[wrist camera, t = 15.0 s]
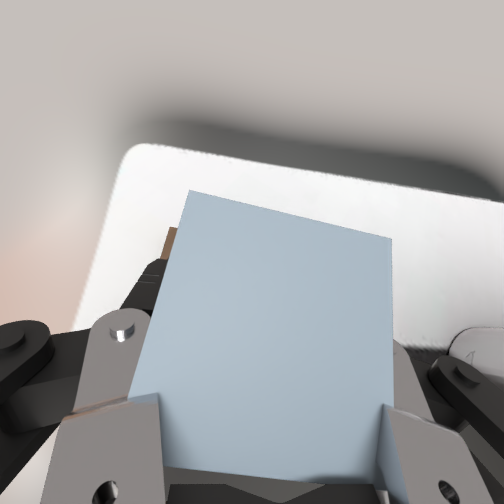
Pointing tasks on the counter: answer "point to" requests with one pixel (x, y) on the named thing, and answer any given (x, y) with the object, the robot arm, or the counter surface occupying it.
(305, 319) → the post block
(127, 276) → the counter surface
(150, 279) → the robot arm
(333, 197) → the counter surface
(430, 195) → the counter surface
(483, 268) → the counter surface
